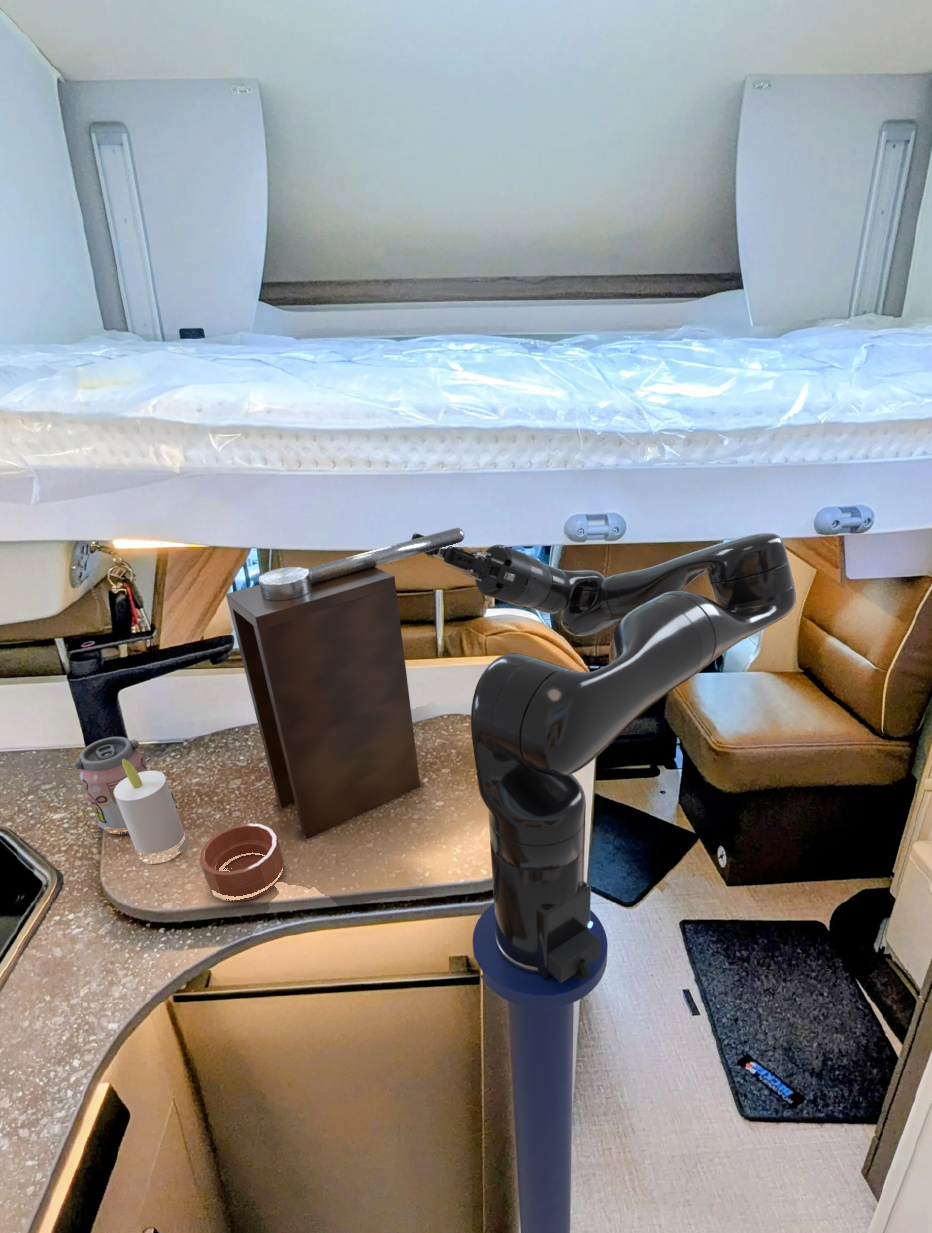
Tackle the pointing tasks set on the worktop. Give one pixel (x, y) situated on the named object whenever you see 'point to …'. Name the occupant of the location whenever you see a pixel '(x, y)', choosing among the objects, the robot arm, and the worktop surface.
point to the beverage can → (107, 775)
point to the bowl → (242, 860)
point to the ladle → (348, 565)
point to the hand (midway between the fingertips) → (429, 547)
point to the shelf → (330, 695)
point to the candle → (149, 810)
